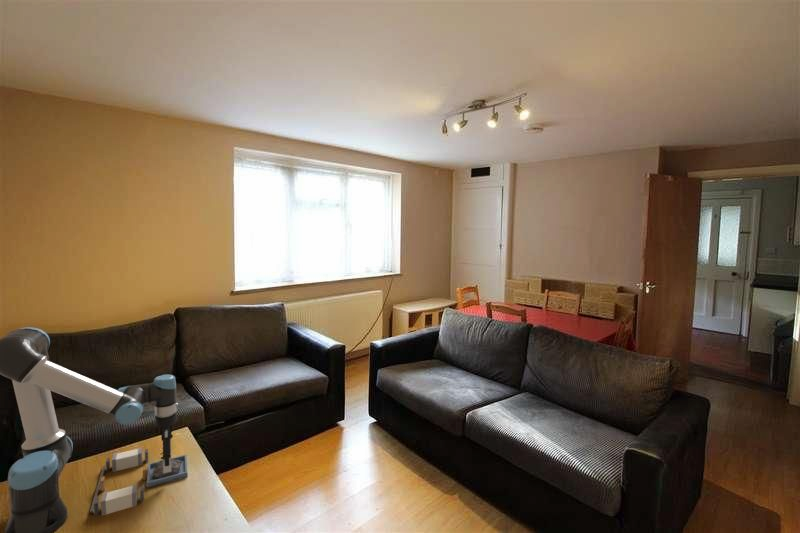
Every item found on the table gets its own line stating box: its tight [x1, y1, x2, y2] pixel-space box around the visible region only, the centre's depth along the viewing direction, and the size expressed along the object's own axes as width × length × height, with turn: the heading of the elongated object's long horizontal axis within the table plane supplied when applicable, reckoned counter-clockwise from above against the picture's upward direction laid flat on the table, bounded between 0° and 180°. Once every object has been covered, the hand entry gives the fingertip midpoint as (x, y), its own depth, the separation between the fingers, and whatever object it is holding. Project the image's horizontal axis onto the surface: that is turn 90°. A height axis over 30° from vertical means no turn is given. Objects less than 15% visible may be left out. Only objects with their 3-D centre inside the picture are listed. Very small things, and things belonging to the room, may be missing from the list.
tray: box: [146, 454, 189, 489], centre depth 155 cm, size 14×14×2 cm
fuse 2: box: [100, 483, 139, 517], centre depth 136 cm, size 10×5×5 cm, turn 121°
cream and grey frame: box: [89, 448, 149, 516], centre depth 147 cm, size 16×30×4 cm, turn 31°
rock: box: [151, 457, 182, 478], centre depth 154 cm, size 9×11×4 cm
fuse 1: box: [111, 446, 144, 473], centre depth 159 cm, size 10×5×5 cm, turn 121°
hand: (167, 462), depth 154 cm, fingers open, 13 cm apart
